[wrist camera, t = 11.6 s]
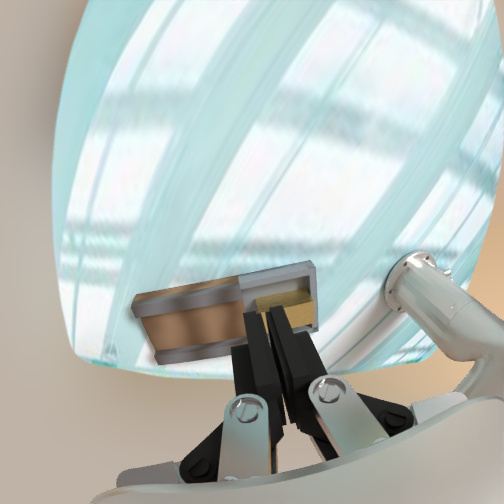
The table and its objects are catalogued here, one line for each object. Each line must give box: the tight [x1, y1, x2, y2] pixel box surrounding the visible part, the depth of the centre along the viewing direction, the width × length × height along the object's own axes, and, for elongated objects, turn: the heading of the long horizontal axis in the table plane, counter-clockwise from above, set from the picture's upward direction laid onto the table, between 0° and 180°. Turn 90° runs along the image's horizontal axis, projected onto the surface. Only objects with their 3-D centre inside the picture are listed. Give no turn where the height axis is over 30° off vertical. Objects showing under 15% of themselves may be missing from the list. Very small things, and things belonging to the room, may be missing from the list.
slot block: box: [131, 275, 248, 365], centre depth 41 cm, size 16×12×4 cm
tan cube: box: [281, 288, 315, 328], centre depth 41 cm, size 4×4×4 cm
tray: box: [238, 260, 318, 343], centre depth 42 cm, size 11×12×2 cm
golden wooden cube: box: [255, 293, 288, 334], centre depth 41 cm, size 4×4×4 cm
